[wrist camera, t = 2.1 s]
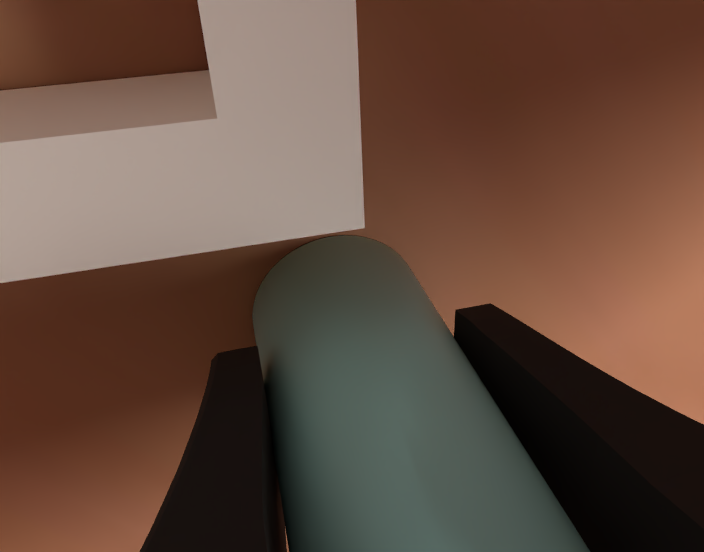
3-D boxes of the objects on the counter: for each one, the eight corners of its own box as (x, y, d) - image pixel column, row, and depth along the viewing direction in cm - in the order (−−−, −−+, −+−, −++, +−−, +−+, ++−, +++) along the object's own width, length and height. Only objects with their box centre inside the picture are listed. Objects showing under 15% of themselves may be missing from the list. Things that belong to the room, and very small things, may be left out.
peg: (418, 223, 11) (697, 592, 5) (415, 359, 12) (620, 755, 6) (240, 250, 10) (311, 704, 4) (263, 389, 12) (338, 850, 6)
